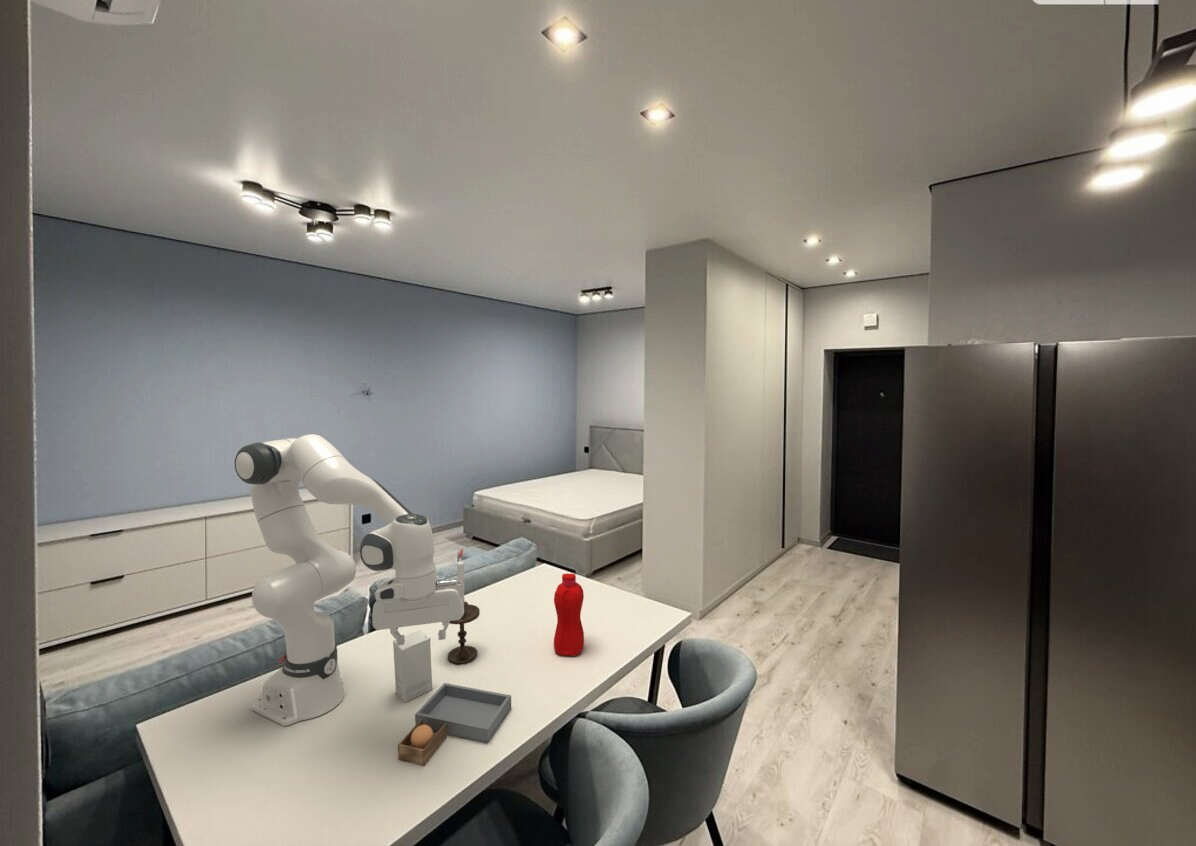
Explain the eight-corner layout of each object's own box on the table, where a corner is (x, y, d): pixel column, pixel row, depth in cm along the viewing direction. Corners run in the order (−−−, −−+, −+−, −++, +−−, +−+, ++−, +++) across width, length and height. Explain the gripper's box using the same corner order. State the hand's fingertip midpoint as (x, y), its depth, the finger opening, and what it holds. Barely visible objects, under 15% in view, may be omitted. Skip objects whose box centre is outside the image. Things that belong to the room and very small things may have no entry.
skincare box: (423, 680, 141) (421, 628, 140) (433, 690, 137) (432, 637, 135) (394, 693, 136) (392, 639, 134) (404, 704, 131) (402, 649, 129)
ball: (405, 752, 113) (406, 730, 113) (419, 739, 118) (419, 718, 118) (424, 756, 112) (425, 735, 112) (437, 743, 117) (437, 722, 117)
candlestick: (478, 644, 160) (476, 540, 157) (481, 662, 150) (479, 552, 147) (444, 650, 157) (441, 544, 154) (444, 669, 147) (441, 556, 143)
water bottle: (585, 639, 163) (585, 567, 161) (581, 658, 153) (581, 581, 150) (558, 638, 164) (558, 566, 162) (552, 656, 154) (551, 579, 151)
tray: (415, 727, 122) (415, 714, 122) (444, 694, 135) (444, 682, 135) (488, 743, 117) (487, 729, 117) (511, 707, 130) (511, 695, 129)
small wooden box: (398, 759, 112) (397, 745, 112) (422, 732, 121) (421, 718, 120) (424, 765, 110) (423, 751, 110) (446, 737, 119) (446, 723, 119)
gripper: (464, 574, 119) (468, 629, 120) (375, 584, 116) (380, 640, 117) (460, 583, 113) (465, 641, 114) (367, 594, 110) (372, 654, 111)
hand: (421, 641), depth 115 cm, fingers open, 8 cm apart
